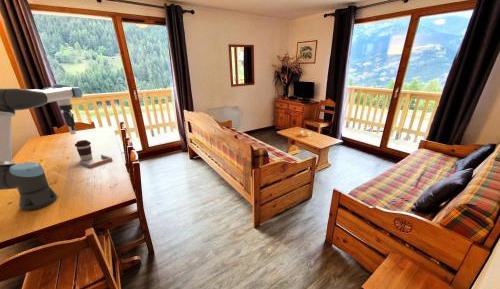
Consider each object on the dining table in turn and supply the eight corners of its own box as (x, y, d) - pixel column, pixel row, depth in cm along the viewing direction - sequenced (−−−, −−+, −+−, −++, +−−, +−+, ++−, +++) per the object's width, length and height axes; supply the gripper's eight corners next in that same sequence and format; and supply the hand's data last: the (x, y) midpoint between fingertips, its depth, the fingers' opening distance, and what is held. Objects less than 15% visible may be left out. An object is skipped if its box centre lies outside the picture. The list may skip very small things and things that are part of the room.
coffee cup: (86, 161, 164) (81, 143, 159) (75, 160, 166) (70, 142, 161) (97, 157, 173) (92, 139, 168) (87, 156, 175) (82, 139, 170)
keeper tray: (90, 167, 153) (89, 164, 152) (80, 164, 159) (79, 161, 159) (112, 160, 165) (111, 157, 165) (102, 157, 172) (101, 154, 171)
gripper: (75, 104, 161) (83, 134, 169) (66, 103, 168) (74, 131, 175) (63, 105, 155) (72, 136, 162) (54, 104, 162) (63, 133, 169)
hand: (73, 133), depth 169 cm, fingers closed
